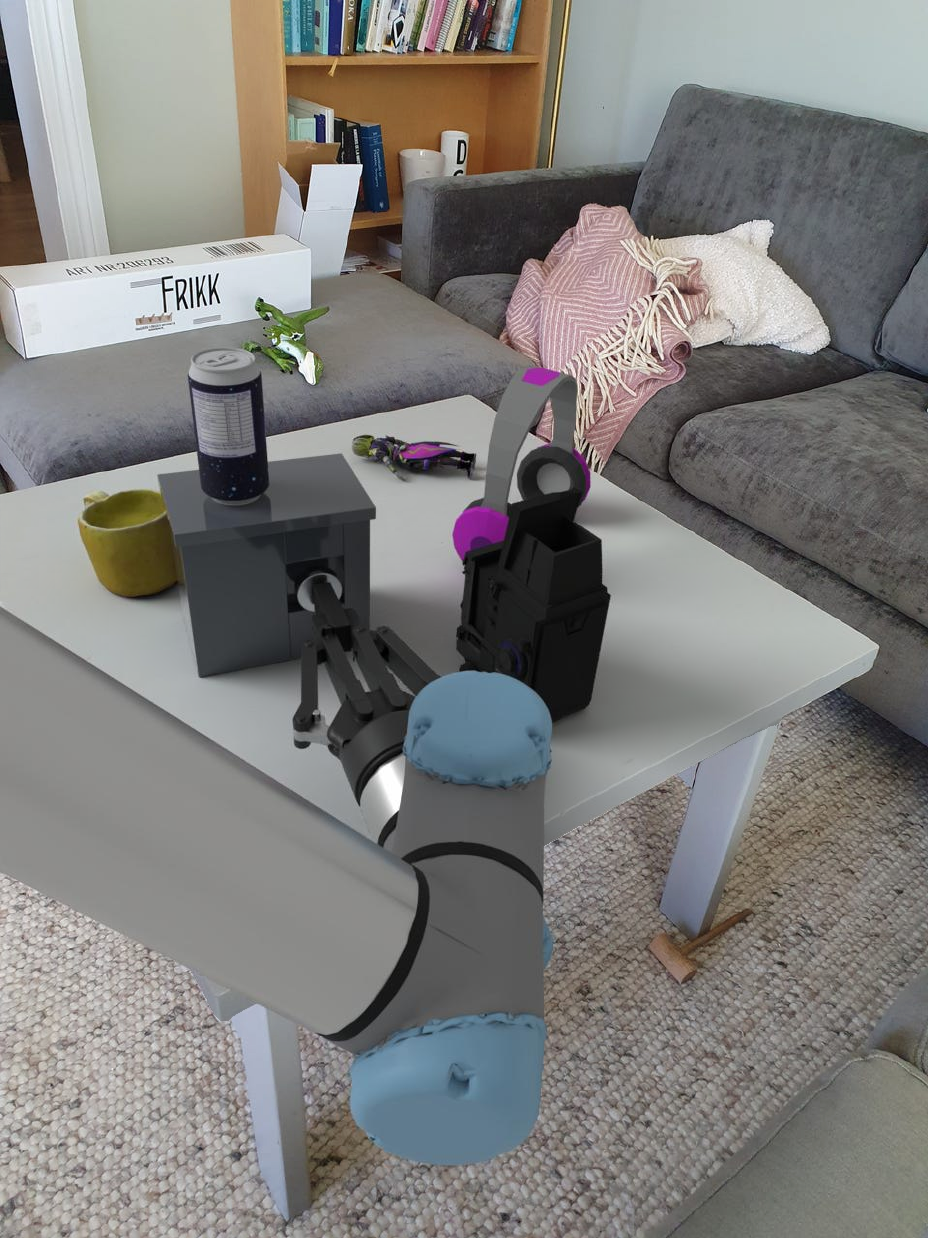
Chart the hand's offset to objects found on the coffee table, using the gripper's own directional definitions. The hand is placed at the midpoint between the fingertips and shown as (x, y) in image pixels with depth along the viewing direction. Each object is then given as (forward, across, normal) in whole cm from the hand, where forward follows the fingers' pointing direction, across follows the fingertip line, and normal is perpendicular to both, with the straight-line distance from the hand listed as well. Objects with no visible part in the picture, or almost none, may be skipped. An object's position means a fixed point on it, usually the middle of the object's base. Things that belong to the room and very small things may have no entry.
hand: (322, 596), depth 80 cm
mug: (+21, -15, -8) cm, 27 cm away
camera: (-7, +16, -8) cm, 19 cm away
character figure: (+36, +21, -8) cm, 43 cm away
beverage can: (+7, -6, +7) cm, 11 cm away
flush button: (+1, 0, -2) cm, 2 cm away
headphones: (+15, +27, -8) cm, 32 cm away
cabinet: (+7, -3, -8) cm, 11 cm away
